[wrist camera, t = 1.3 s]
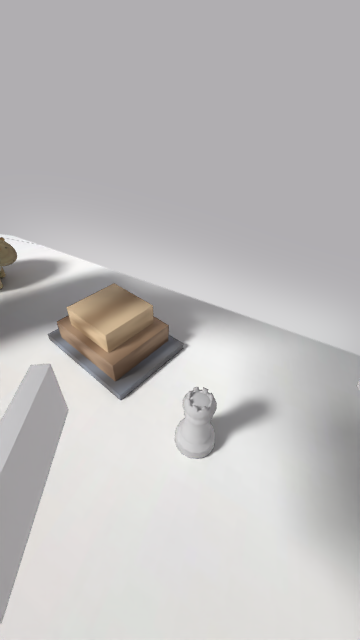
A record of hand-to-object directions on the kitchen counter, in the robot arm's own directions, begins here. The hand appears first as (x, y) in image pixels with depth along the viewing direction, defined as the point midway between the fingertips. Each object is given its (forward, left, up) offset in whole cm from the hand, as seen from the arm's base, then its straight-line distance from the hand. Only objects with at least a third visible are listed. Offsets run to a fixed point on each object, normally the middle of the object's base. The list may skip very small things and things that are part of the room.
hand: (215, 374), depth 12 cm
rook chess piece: (-5, +7, -21) cm, 23 cm away
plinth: (-23, +11, -21) cm, 33 cm away
